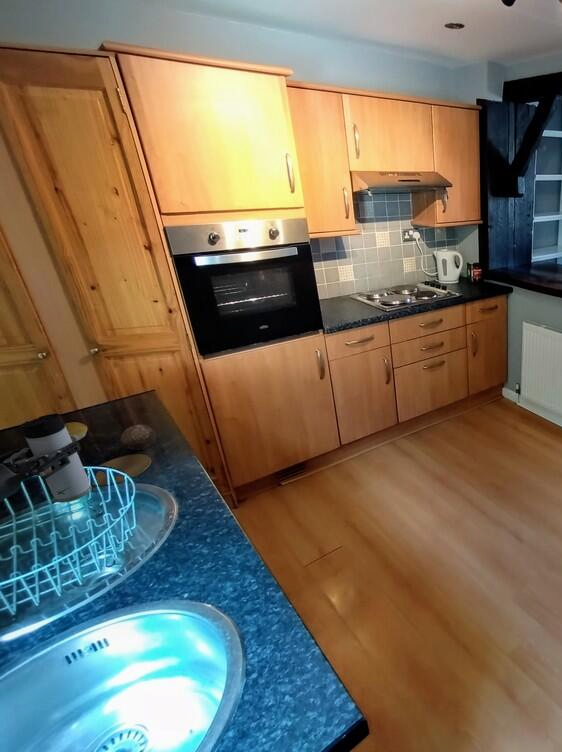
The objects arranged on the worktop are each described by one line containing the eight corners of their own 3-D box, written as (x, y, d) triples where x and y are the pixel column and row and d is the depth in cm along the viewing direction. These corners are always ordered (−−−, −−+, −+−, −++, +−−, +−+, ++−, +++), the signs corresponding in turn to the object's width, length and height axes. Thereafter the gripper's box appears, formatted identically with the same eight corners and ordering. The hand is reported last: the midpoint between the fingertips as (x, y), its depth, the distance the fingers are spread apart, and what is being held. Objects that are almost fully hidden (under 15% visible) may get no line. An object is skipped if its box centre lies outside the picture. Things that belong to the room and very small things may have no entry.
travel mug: (67, 506, 99) (30, 427, 91) (48, 499, 101) (11, 421, 93) (99, 489, 104) (67, 413, 97) (81, 483, 106) (48, 408, 99)
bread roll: (89, 427, 136) (84, 415, 135) (86, 440, 130) (80, 428, 128) (52, 435, 132) (47, 423, 130) (47, 449, 125) (41, 437, 124)
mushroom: (115, 435, 126) (120, 420, 124) (150, 433, 133) (156, 420, 130) (118, 458, 123) (125, 443, 120) (154, 455, 129) (161, 441, 126)
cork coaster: (80, 492, 109) (80, 490, 109) (94, 463, 119) (94, 462, 119) (146, 476, 115) (146, 474, 115) (154, 450, 125) (154, 449, 125)
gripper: (-49, 505, 87) (42, 455, 102) (16, 511, 86) (99, 460, 101) (-69, 473, 84) (29, 427, 99) (-1, 479, 83) (87, 431, 98)
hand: (64, 444), depth 100 cm, fingers closed on travel mug, 6 cm apart
